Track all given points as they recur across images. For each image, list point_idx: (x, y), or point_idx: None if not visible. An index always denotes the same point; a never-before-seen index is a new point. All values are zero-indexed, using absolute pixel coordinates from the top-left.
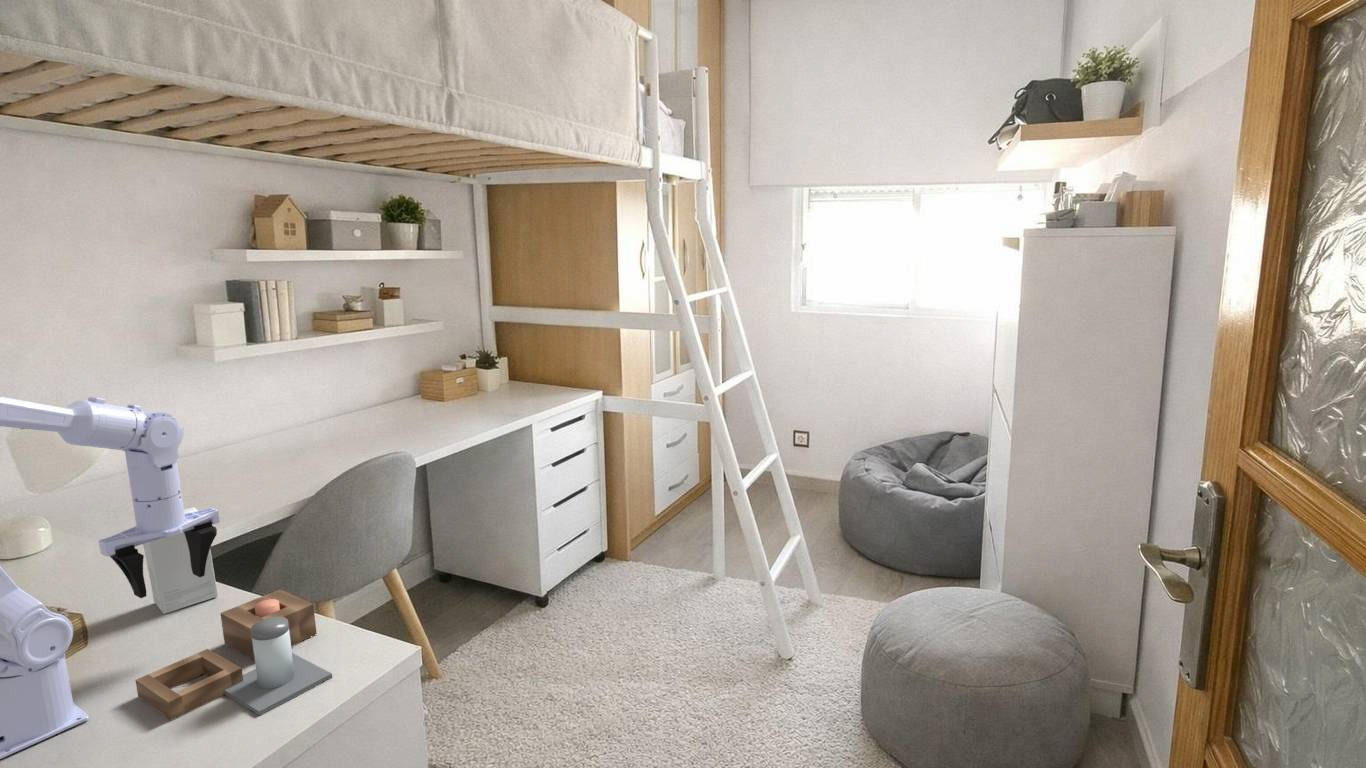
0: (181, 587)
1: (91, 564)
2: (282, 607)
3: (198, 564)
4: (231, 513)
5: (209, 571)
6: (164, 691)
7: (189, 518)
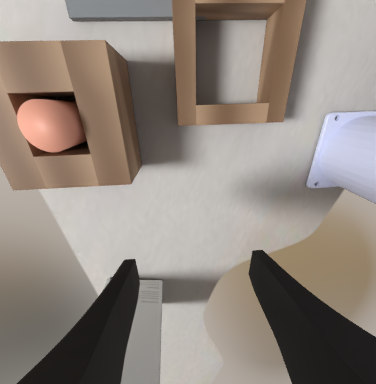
0: (138, 303)
1: (167, 377)
2: None
3: (125, 291)
4: None
5: None
6: (290, 28)
7: None
